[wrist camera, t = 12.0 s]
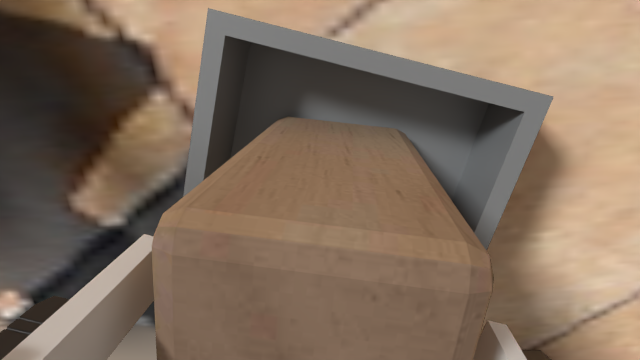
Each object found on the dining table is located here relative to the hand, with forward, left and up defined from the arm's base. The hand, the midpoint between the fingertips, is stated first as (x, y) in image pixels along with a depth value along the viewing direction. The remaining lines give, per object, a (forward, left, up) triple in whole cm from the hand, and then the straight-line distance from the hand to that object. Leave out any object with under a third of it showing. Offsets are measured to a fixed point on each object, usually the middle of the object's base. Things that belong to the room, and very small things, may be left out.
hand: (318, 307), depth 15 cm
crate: (0, 0, -17) cm, 17 cm away
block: (0, 0, -16) cm, 16 cm away
